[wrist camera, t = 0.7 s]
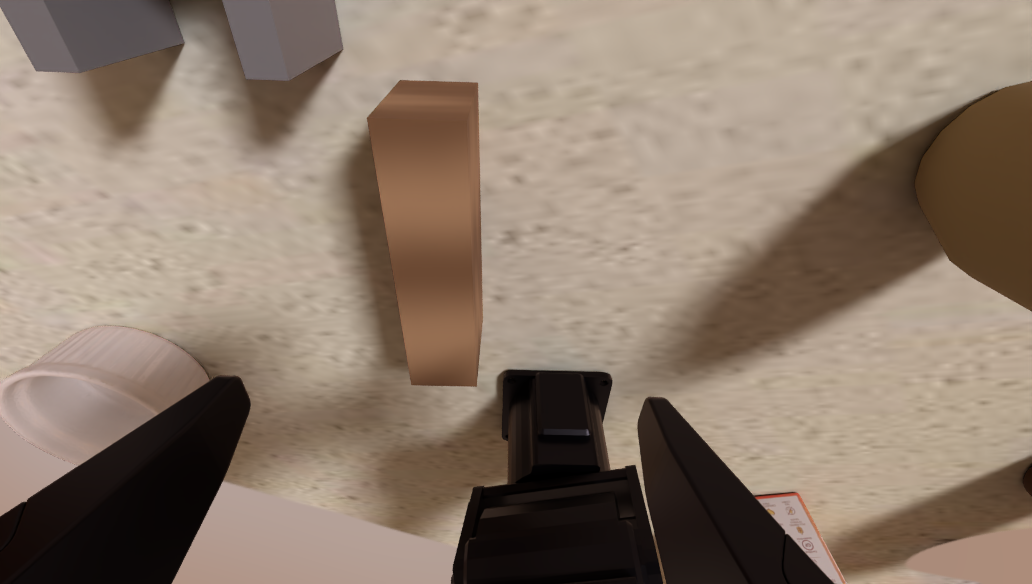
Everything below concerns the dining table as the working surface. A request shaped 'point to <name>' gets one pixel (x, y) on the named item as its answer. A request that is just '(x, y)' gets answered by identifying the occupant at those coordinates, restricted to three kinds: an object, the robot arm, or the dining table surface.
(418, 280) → the slat
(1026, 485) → the olive oil
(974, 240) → the squeeze bottle
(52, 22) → the end cap
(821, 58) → the dining table surface
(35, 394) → the ramekin
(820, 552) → the cracker box
